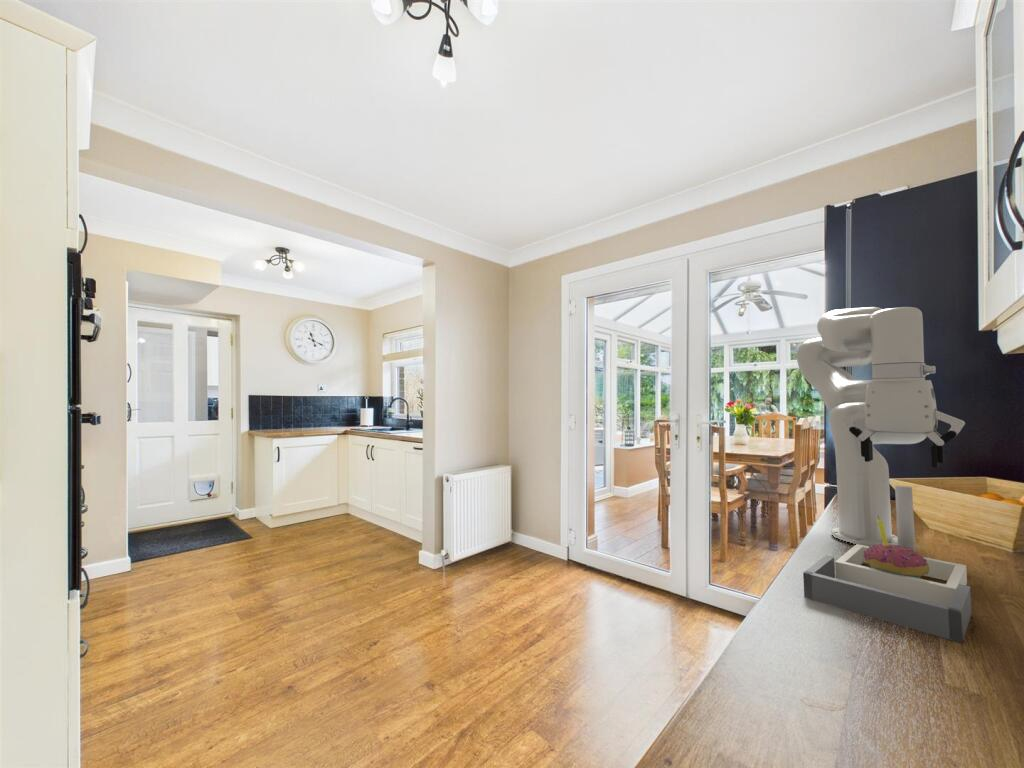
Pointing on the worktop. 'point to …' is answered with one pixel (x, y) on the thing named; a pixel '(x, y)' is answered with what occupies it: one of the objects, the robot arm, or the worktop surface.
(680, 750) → the worktop surface
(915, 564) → the pink frosted cake
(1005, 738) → the worktop surface
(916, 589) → the collar
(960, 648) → the worktop surface
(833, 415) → the robot arm
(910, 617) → the holder bay
